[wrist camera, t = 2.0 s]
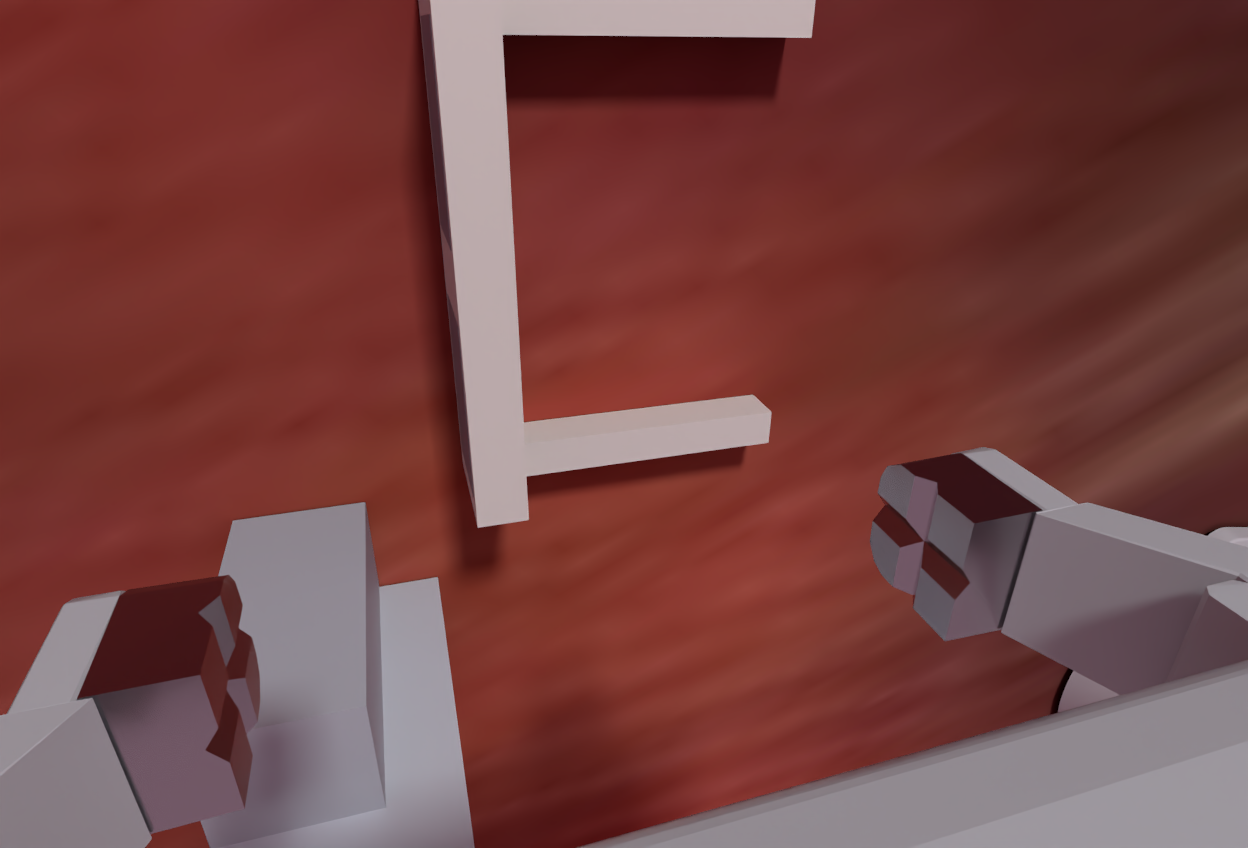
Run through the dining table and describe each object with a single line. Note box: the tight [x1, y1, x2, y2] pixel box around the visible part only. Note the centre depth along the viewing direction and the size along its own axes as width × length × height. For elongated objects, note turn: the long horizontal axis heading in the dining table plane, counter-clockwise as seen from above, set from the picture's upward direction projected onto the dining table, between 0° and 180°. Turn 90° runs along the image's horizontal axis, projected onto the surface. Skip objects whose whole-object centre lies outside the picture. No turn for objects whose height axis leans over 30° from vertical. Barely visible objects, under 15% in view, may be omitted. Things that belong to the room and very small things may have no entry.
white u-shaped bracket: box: [418, 0, 815, 528], centre depth 22 cm, size 10×14×4 cm
